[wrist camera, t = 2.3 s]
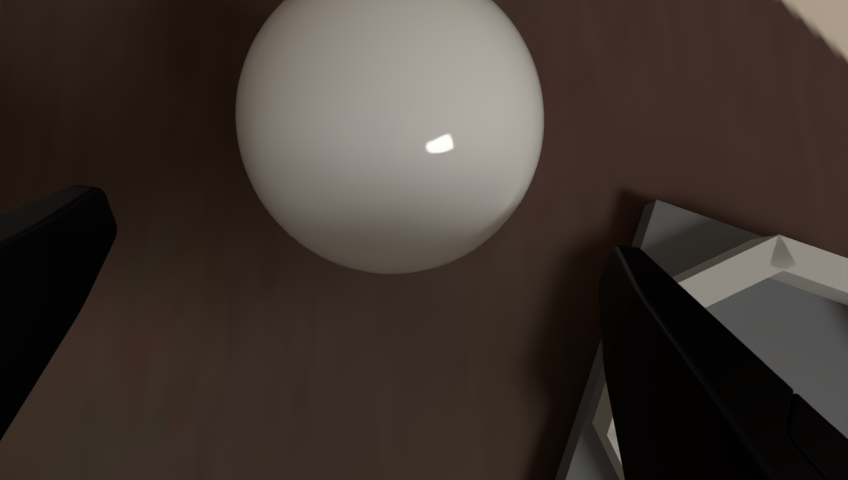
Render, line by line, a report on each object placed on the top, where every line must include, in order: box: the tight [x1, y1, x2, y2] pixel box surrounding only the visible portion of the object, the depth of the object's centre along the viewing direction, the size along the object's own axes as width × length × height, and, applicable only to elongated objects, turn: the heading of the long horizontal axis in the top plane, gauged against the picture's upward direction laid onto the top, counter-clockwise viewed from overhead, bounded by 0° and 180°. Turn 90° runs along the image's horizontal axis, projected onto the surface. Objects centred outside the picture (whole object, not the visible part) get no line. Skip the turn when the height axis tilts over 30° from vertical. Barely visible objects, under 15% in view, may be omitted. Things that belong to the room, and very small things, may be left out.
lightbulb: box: [235, 0, 544, 275], centre depth 14 cm, size 6×6×11 cm
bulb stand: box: [555, 200, 848, 480], centre depth 17 cm, size 11×11×2 cm
